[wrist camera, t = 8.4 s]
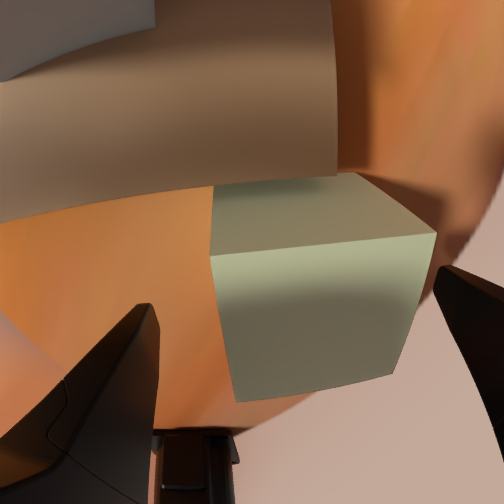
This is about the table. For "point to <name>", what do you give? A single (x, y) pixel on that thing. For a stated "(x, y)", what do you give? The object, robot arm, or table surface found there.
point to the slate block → (63, 28)
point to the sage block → (314, 282)
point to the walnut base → (174, 107)
